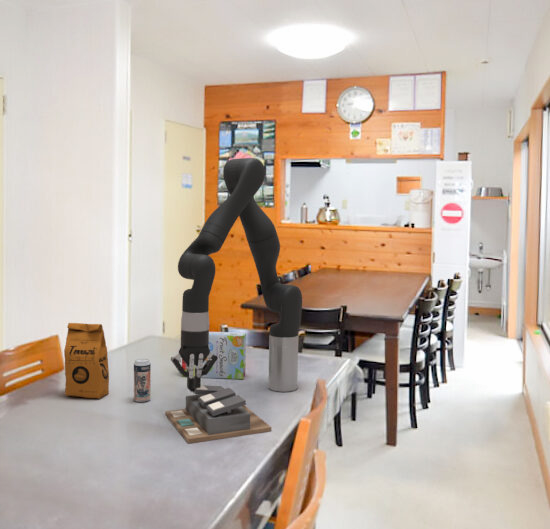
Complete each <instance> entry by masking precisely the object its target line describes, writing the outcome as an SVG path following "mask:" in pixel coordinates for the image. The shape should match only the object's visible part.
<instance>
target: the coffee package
mask: <svg viewBox="0 0 550 529" xmlns="http://www.w3.org/2000/svg"><path fill="white" fill-rule="evenodd" d="M66 327H67V333H66V341H65V346H64V352H63V353H64V354H63V355H64V370H65V371H64V375H65V384H64V385H65V391H64V394H65V396H71V397H78V398H79V397H80V398H84V399H85V398H86V399H98V400H100V399H102V398H103V397H104V396H107V395H109V392H110V390H109V385H110V370H109V359H108V347H107V343H106V338H105V332H104V327H103V324H102V323H81V322H80V323H77V322H68V324H67V326H66Z"/></svg>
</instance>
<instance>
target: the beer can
mask: <svg viewBox="0 0 550 529" xmlns="http://www.w3.org/2000/svg"><path fill="white" fill-rule="evenodd" d="M151 366H152V365H151V362H150V360H149V359H148V358H137V359H136V360H135V361H134V363H133V401H135V402H137V403H146V402H145V401H147V402H148V401H149V400H151V399H152V398H151V397H152V396H151V395H152V394H151V391H152V390H151V386H152V385H151V383H152V380H151V378H152V376H151Z"/></svg>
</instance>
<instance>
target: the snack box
mask: <svg viewBox="0 0 550 529" xmlns="http://www.w3.org/2000/svg"><path fill="white" fill-rule="evenodd" d="M246 342H247V333H246V332H228V331H209V345H208V347H209V349H210V353H212V354H214V355H216V356H217V357H218V359H217V360H216V362H215V363H214V365H213V366H212V368H211V369H210V371H209V372H208V374H207V375H203V376H202V377H201V378H202V379H204V378H205V379H208V378H209V379H230V380H244V378H245V377H246V369H247V368H246V365H247V364H246V359H247V358H246V355H247V354H246V349H247V348H246V347H247V343H246ZM206 362H207V358H206V359H205V361H204V362H203V365H202V368H203V366H204V365H205V363H206ZM181 366H182V367H183V369H184V370H185V371H187V369H186V363H185V362H184V361H183V359H182V358H181ZM194 373H195V367H194V370H193V378H194V376H195V374H194ZM181 377H182V378H185V377H184V376H183V375H181Z"/></svg>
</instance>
